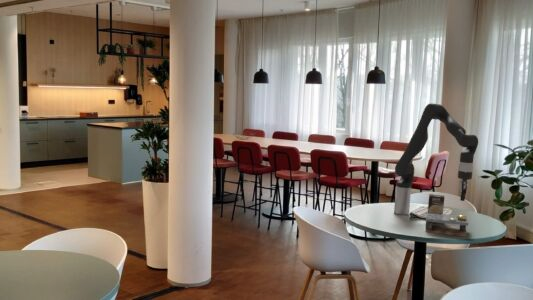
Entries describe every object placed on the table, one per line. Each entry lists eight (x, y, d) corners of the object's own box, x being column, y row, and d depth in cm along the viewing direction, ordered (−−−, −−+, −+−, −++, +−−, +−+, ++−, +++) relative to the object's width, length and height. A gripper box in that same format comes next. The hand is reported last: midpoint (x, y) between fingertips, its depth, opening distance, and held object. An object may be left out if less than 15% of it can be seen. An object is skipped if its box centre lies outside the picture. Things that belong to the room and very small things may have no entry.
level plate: (426, 221, 305) (426, 215, 304) (426, 214, 320) (427, 209, 320) (468, 225, 299) (468, 219, 298) (466, 219, 314) (466, 213, 313)
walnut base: (425, 231, 305) (426, 221, 304) (425, 224, 321) (426, 215, 321) (467, 236, 299) (468, 226, 298) (465, 229, 315) (466, 219, 314)
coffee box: (426, 221, 328) (428, 195, 326) (426, 219, 334) (428, 193, 332) (442, 223, 325) (444, 197, 323) (442, 221, 331) (444, 195, 329)
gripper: (457, 167, 311) (454, 197, 313) (458, 171, 298) (455, 202, 301) (471, 169, 309) (468, 199, 311) (473, 172, 296) (470, 203, 298)
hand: (462, 200), depth 306 cm, fingers closed
